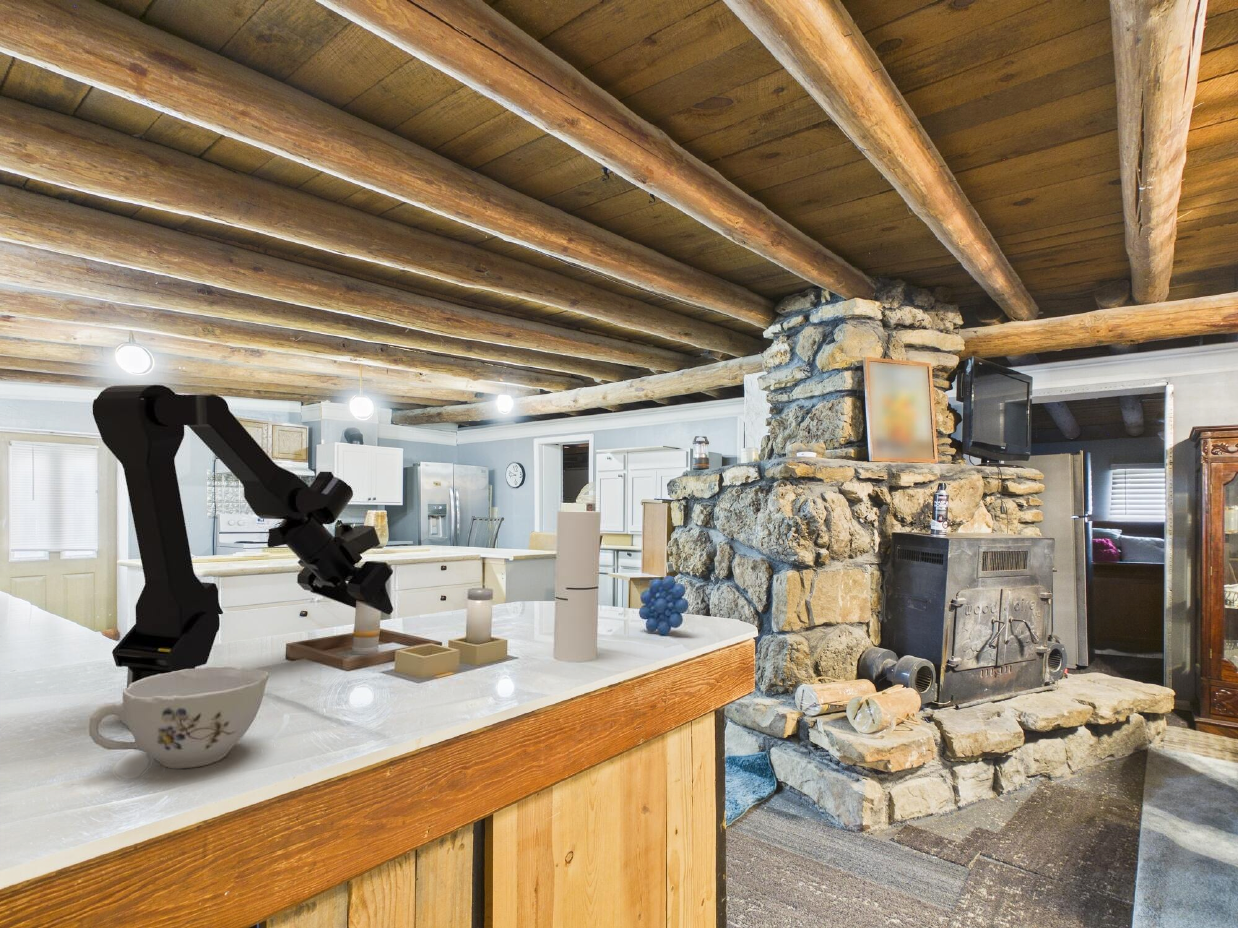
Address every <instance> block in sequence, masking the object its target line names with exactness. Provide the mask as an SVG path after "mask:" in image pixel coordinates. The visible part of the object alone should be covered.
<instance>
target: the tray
mask: <svg viewBox="0 0 1238 928" xmlns="http://www.w3.org/2000/svg"><path fill="white" fill-rule="evenodd" d="M393 643H394V644H398V645H402V646H405V647H400V648H396V649H391V650H385V651H378V652H377V653H374V654H369V655H357V656H354V657H347V656H345V655H342V654H339V653H343V652H344V653H345V652H349V651H352V647H353V632H350V633H342V634H336V635H329V636H324V637H318V638H317V637H316V638H311V639H307V640H305V639H304V640H299V641H294V642H293V641H292V642H288V643H286V644H285V655H284V656H285V660H287V661H291V662H295V661H300V660H308V661H311V662H313V663H318V664H320V665H325V666H328V667H331V668H334V669H339V670H341V671H345V672H351V671H357V670H361V669H364V668H370V667H374V666H379V665H384V664H390V663H395V651H396V650H401V649H406V648H411V647H416V646H421V645H427V644H435V645H440V646H443V641H439V640H434V639H429V638H426V637H420V636H417V635H416V636H415V635H412V634H409V633H408V634H406V633H403V632H397V631H393V630H388V629H383V628H380V636H379V644H378V646H381V645H387V644H393Z"/></svg>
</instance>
